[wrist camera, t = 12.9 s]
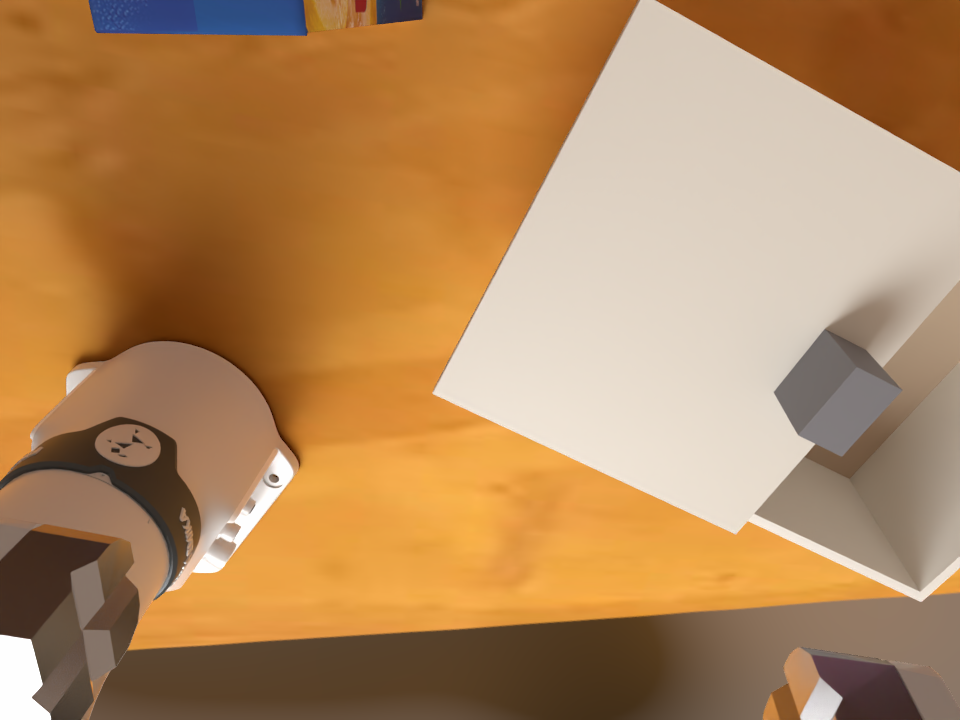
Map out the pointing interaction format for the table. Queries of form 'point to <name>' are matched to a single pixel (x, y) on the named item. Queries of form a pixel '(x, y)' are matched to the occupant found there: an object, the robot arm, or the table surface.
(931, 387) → the carton
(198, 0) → the beverage box
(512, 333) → the lid
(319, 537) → the table surface
